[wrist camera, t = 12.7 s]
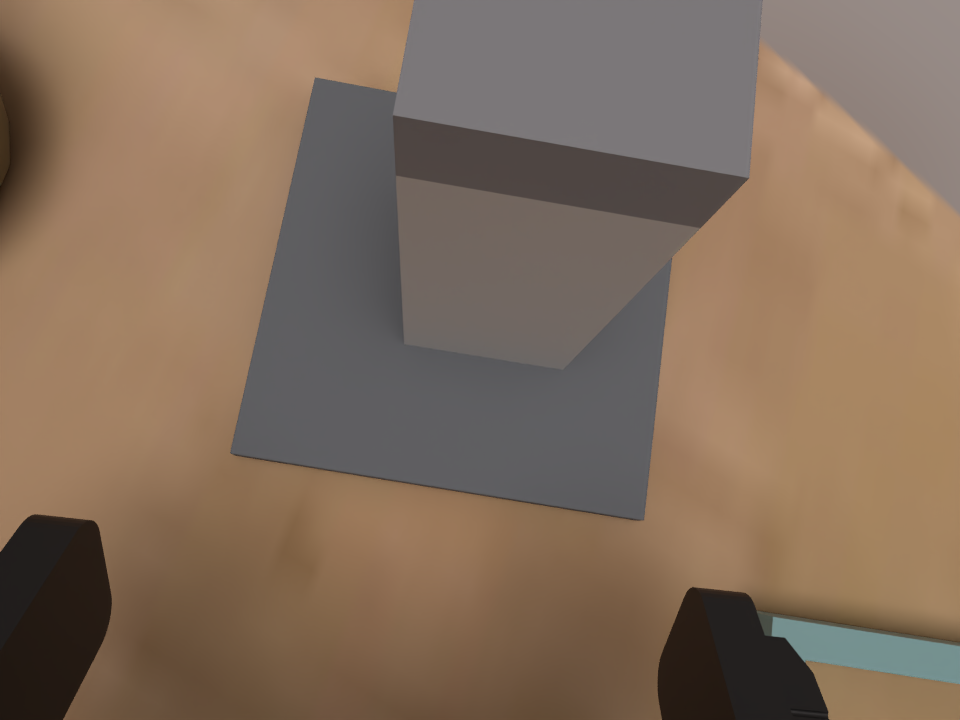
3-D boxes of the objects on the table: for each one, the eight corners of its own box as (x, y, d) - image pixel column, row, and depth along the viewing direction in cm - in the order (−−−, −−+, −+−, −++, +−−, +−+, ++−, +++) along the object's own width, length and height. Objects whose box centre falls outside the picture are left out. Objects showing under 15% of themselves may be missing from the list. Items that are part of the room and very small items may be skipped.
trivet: (235, 455, 19) (230, 453, 18) (317, 89, 21) (315, 77, 20) (637, 520, 19) (643, 520, 19) (676, 156, 22) (683, 146, 21)
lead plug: (404, 344, 19) (392, 115, 8) (429, 195, 20) (449, -185, 9) (562, 370, 19) (749, 178, 9) (581, 221, 20) (772, -121, 10)
